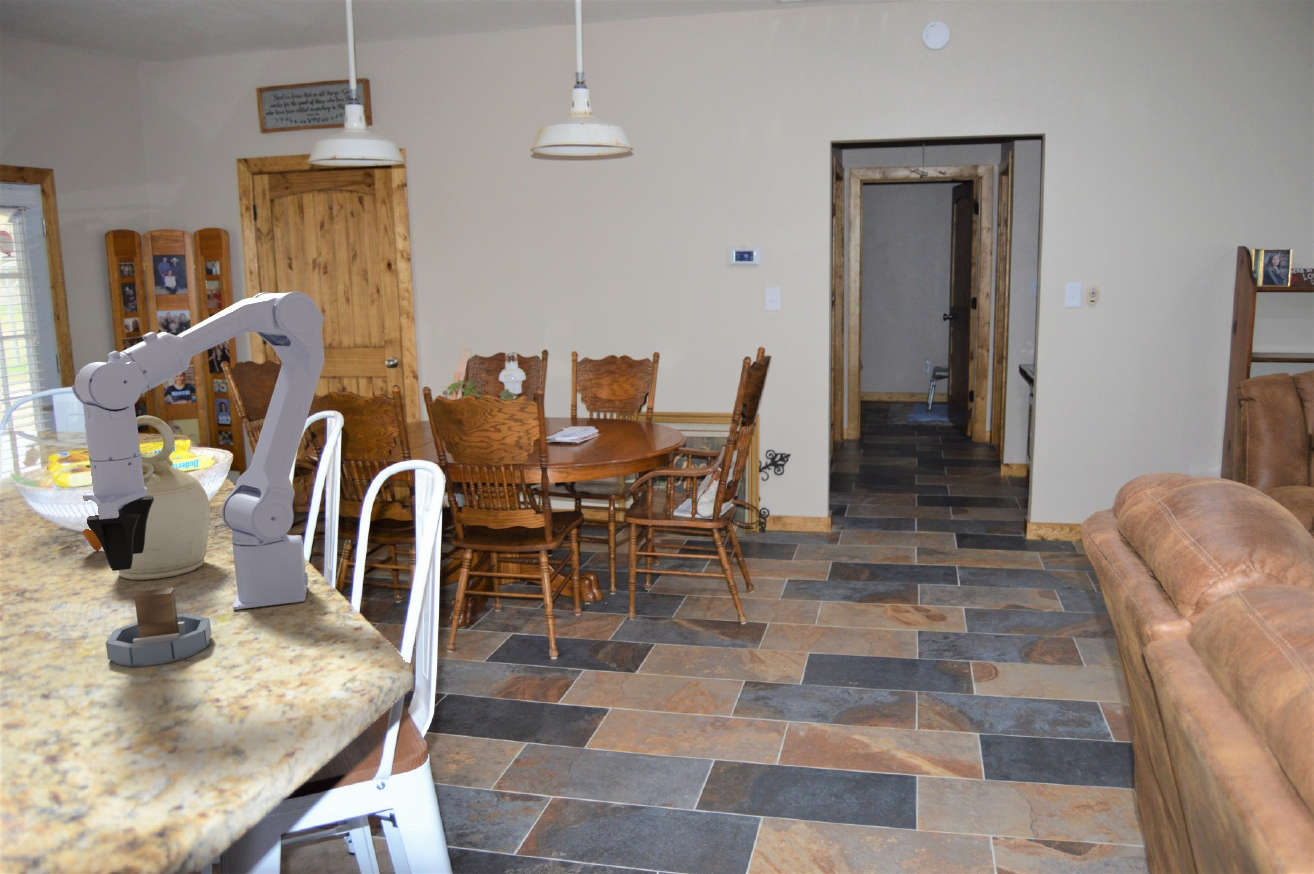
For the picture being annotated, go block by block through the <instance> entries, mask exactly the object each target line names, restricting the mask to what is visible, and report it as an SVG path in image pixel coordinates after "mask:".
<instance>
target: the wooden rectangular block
mask: <svg viewBox="0 0 1314 874" xmlns="http://www.w3.org/2000/svg"><path fill="white" fill-rule="evenodd" d="M134 605H135V613H136V620H137V621H136V622H138V630H139V638H142V637H150V636H158V635H166V634H174V633H179V627H178V619H177V615H178V613H177V612H178V611H177V603H176V593H175V587H167V588H165V587H164V588H157V589H148V590H139V591H137V593H136V595H135V596H134Z"/></svg>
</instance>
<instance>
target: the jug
mask: <svg viewBox="0 0 1314 874" xmlns="http://www.w3.org/2000/svg"><path fill="white" fill-rule="evenodd" d="M136 420H137V427H138V428H139V427H141V426H149V427H152V428H154V429H156V430H157V431H158V432H159V433H160V435H161V437H162V441H163V443H162V444H163V445H162V448H161V450H160V451H159V452H158V453H156V454H143V453H141V461H142V469H143V477H144V486H145V487H146V488H147V495H146V496H153V497H154V501H153V503H152V506H151V508H150V511H149V515H148V519H147V524H146V534H145V544H144V550H143V553H139V554H133V561H132V566H131V569H126V570H118V575H119V576H120V577H121V578H124V579H127V580H130V581H131V580H132V581H147V580H159V579H166V578H172V577H173V578H174V577H178V576H181V575H185V574H188V573H191V572H194V571H196V570H197V569H199V568H201V567H202V566H203V565H204V563H205V557H206V554H207V548H208V540H209V533H210V532H209V529H210V521H211V520H210V518H211V507H210V502H209V497H208V494H207V493H206V492H207V491H206V489H204V487H203V485H202V484H201V483H200V481H199V480H198V479H196V477H194V476H192V475H191V474H189V473H187V472H185V471H183V470H182V469H178V468H175V467H173V465H174V463H173V461H172V460H171V459H170V456H171V455H172V454H173V451H174V450H175V449H174V448H175V440H176V439H175V435H174V431H173V430H172V428H171V427H170V426H169V424H167V423H166V422H165V421H164V420H162V419H161V418H158V417H156V416H154V415H140V416H136Z"/></svg>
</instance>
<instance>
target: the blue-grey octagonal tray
mask: <svg viewBox="0 0 1314 874" xmlns="http://www.w3.org/2000/svg"><path fill="white" fill-rule="evenodd" d="M177 619H178V627H179V633H174V634H166V635H158V636H150V637H142V638H139V630H138V622H137V621H135V622H133V623H129V624H127V625H124V626H121V627H119V628H116V629H115V630H112V632H111V634H110V635H109V636H108V638H107V640H106V641H105V646H106V654H107V659H108V660H109V661H112V663H113V664H116V665H118V666H122V667H134V668H138V667H151V666H160V665H163V664H169V663H174V662H176V661H180V660H184V659H186V658H189V657H191V656H194V655H196V654H198V653H200V652H202V651H203V650H205V649H207V647H208V646H209V645H210V642H211V640H210V639H211V636H212V627H211V619H210V617H206V616H201V615H196V614H195V615H194V614H191V613H180V614H178V613H177Z"/></svg>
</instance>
